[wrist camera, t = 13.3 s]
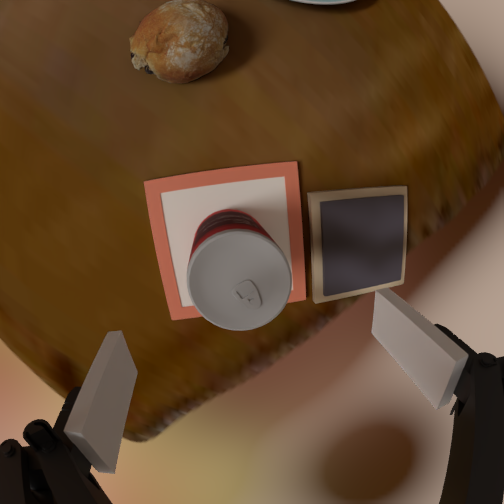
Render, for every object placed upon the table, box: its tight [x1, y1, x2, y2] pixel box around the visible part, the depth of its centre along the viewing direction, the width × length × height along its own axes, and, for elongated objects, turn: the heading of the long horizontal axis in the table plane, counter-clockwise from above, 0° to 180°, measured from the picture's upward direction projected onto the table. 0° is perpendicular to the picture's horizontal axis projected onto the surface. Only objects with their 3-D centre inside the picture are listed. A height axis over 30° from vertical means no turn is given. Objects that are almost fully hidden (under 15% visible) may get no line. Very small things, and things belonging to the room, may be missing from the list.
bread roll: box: [130, 0, 229, 83], centre depth 23 cm, size 10×10×8 cm
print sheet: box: [144, 161, 306, 320], centre depth 31 cm, size 16×16×1 cm
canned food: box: [187, 209, 292, 330], centre depth 26 cm, size 8×8×11 cm
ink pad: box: [307, 185, 407, 304], centre depth 33 cm, size 13×13×2 cm
